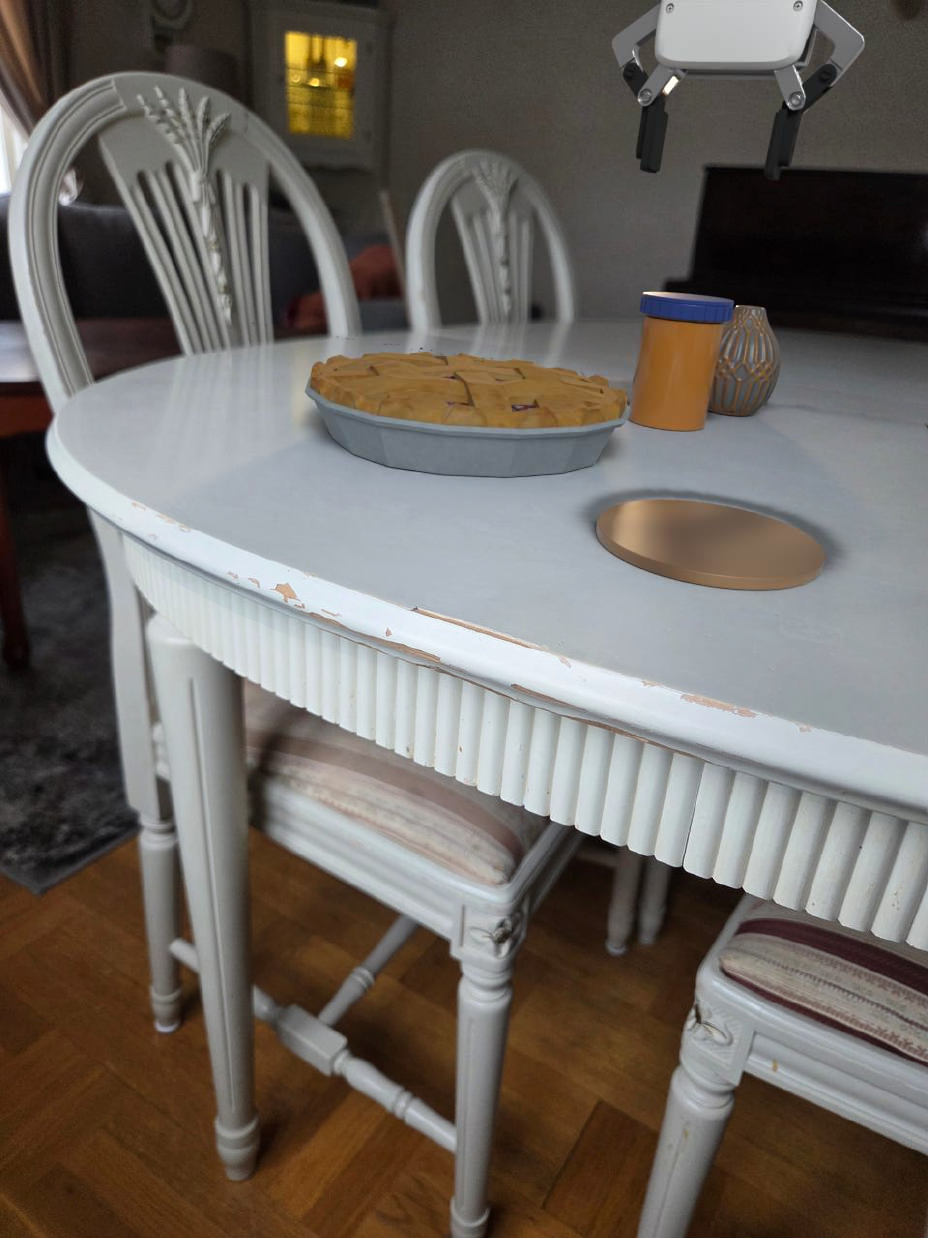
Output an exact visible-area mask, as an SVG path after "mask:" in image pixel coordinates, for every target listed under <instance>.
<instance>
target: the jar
mask: <svg viewBox="0 0 928 1238" xmlns="http://www.w3.org/2000/svg"><path fill="white" fill-rule="evenodd" d="M724 326H725V323H724V322H705V321H691V320H680V319H672V318H664V317H658V316H652V315H648V314H643V317H642V323H641V331H640V337H639V343H638V349H637V356H636V361H635V367H634V375H633V381H632V386H631V387H632V388H631V394H630V401H629V405H628V406H630V408H631V413H630V415H629V417H628V418H627V420H629V421H630V422H632V423H634V424H637V425H640V426H643V427H648V428H653V429H659V430H666V431H675V432H692V431H693V432H694V431H699V430H703V429H704V428H705V426H706V422H707V415H708V411H709V410H708V406H709V401H710V396H711V391H712V386H713V381H714V376H715V371H716V366H717V361H718V356H719V351H720V346H721V341H722V336H723V331H724Z"/></svg>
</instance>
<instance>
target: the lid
mask: <svg viewBox="0 0 928 1238" xmlns="http://www.w3.org/2000/svg"><path fill="white" fill-rule="evenodd" d="M734 303H735V301H734V300H732V299H729V298H724V297H718V296H710V295H704V294H700V295H699V294H692V293H682V292H681V293H680V292H671V291H670V292H667V291H644V292H642V297H641V298H640V305H639V312H640V313H642V314H643V315H645V314H648V315H652V316H658V317H664V318H672V319H680V320H691V321H705V322H727V321H730V320H731V319H732V314H733V310H734V309H735V306H734Z"/></svg>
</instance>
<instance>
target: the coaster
mask: <svg viewBox="0 0 928 1238" xmlns="http://www.w3.org/2000/svg"><path fill="white" fill-rule="evenodd" d="M596 521H597V522H596V529H595V532H596V537H597V539H598V541H599V543H600V544H601V545H602V546H603V547H604V548H605V549H606V550H607V551H608V552H610V553H611V554H612V555H614V556H616V557H617V558H619V559H621V560H622V561H624V562H626V563H628V564H630V565H633V566H635V567H637V568H640V569H642V570H645V571H648V572H650V573H654V574H656V575H659V576H662V577H666V578H668V579H669V578H670V579H673V580H677V581H681V582H685V583H691V584H695V585H701V586H706V587H712V588H720V589H729V590H741V591H743V590H744V591H769V590H770V591H771V590H783V589H790V588H794V587H800V586H803V585H807V584H809V583H810V582H812V581H814V580H816V579H817V578H818V577H819V576H820V575H821V574H822V572H823V569H824V566H825V562H826V553H825V549H824V548H823V547H822V545H821V544H820V543H819V542H818V541H817V540H816V539H815V538H813V537H812V536H810V535H809V534H808V533H806V532H805V531H802V530H801V529H799V528H797V527H795V526H793V525H790V524H788V523H786V522H783V521H781V520H778V519H776V518H773V517H770V516H767V515H764V514H761V513H757V512H754V511H750V510H746V509H742V508H738V507H734V506H729V505H723V504H719V503H712V502H704V501H698V500H697V501H696V500H685V499H683V500H682V499H666V498H665V499H664V498H663V499H660V498H659V499H641V500H634V501H626V502H622V503H619V504H618V503H617V504H615V505H612V506H610V507H608V508H606V509H605V510H603V511H602V512H601V513H600V514H599V515H598V518H597V520H596Z"/></svg>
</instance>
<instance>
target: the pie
mask: <svg viewBox="0 0 928 1238" xmlns="http://www.w3.org/2000/svg"><path fill="white" fill-rule="evenodd" d="M304 393H305V394H306V395H307V397H309V399H311V400H313V401H314V403H315V405H316V407H317V409H318V411H319V413H320V415H321V417H322V420H323V421H324V424H325V425H326V428H327V430H328V433H329V434H330V436H331V438H332V439H333V440H334V441H335V442H336V443H338V444H339V445H340V446H342V447H343V448H344V449H346V450H347V451H348V452H349V453H350V454H352V455H355V456H357V457H360V458H363V459H365V460H369V461H372V462H374V463H378V464H380V465H384V466H385V467H390V468H396V469H402V470H410V471H417V472H423V473H424V472H425V473H429V474H438V475H446V476H447V475H448V476H473V477H476V476H478V477H496V478H498V477H499V478H512V477H513V478H514V477H524V476H539V475H541V476H542V475H554V474H564V473H568V472H572V471H575V470H576V471H577V470H579V469H583V468H587V467H591V466H595V464H596V462H597V460H598V459H599V456H600V455H601V454H602V451H603V450H604V448H605V447H606V445H607V444H608V441H609V440H610V438H611V436H612V434H613V433H614V432H615V429H618V428H621V427H622V426H623V425H625V424H626V422H627V421H628V417H629V415H630V413H631V408H630V406H629V405H628V401H627V400H628V399H627V391H626V390H625V389H623V388H620V387H619V388H618V387H617V388H615V387H614V388H611V387H610V383H609V379H608V378H606V377H604V376H602V375H600V374H596V375H593V376H590V377H585V376H583V375H579V373H578V372H577V371H576V370H572V369H569V368H564V367H559V366H558V367H545V366H541V365H539V364H538V365H537V364H535V363H534V361H529V360H524V359H523V360H522V359H521V360H520V359H516V358H515V359H514V358H512V359H508V360H497V359H487V358H481V357H477V356H474V355H470V354H466V353H462V352H459V353H457V354H456V355H437V354H436V355H435V354H434V353H431V352H429V351H422V352H411V353H399V352H398V353H397V352H386V351H385V352H384V351H381V352H376V353H375V352H373V353H363V355H362V356H361V357H355V358H354V357H353V358H349V357H348V356H345V355H342V354H337V355H334V356H331V357H329V358H327V359H326V362H325V363H324V362H322V361H316V362H314V364H313V365H312V366H311V371H310V376H309V378H308V380H307V384H306V386H305V390H304Z"/></svg>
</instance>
